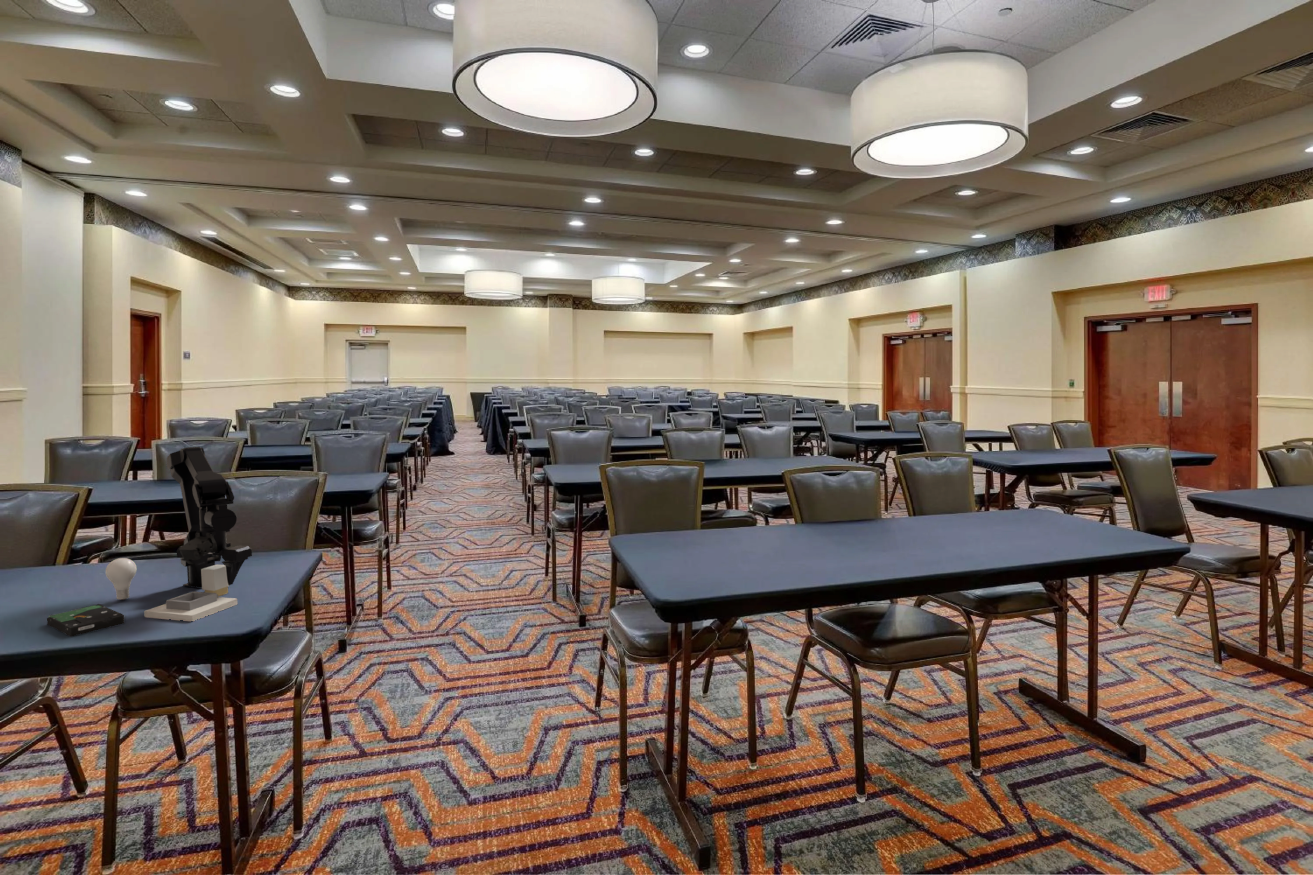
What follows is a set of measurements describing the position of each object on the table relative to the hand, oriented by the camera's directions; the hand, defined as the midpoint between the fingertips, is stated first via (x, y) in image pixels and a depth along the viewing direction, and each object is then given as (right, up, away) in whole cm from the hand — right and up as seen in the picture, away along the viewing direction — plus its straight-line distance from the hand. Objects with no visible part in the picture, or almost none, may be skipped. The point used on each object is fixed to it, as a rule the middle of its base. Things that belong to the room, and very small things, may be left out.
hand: (216, 583), depth 182 cm
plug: (0, -3, 0) cm, 3 cm away
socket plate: (+2, -4, -13) cm, 13 cm away
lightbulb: (-22, -4, -4) cm, 22 cm away
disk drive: (-16, -6, -22) cm, 28 cm away
